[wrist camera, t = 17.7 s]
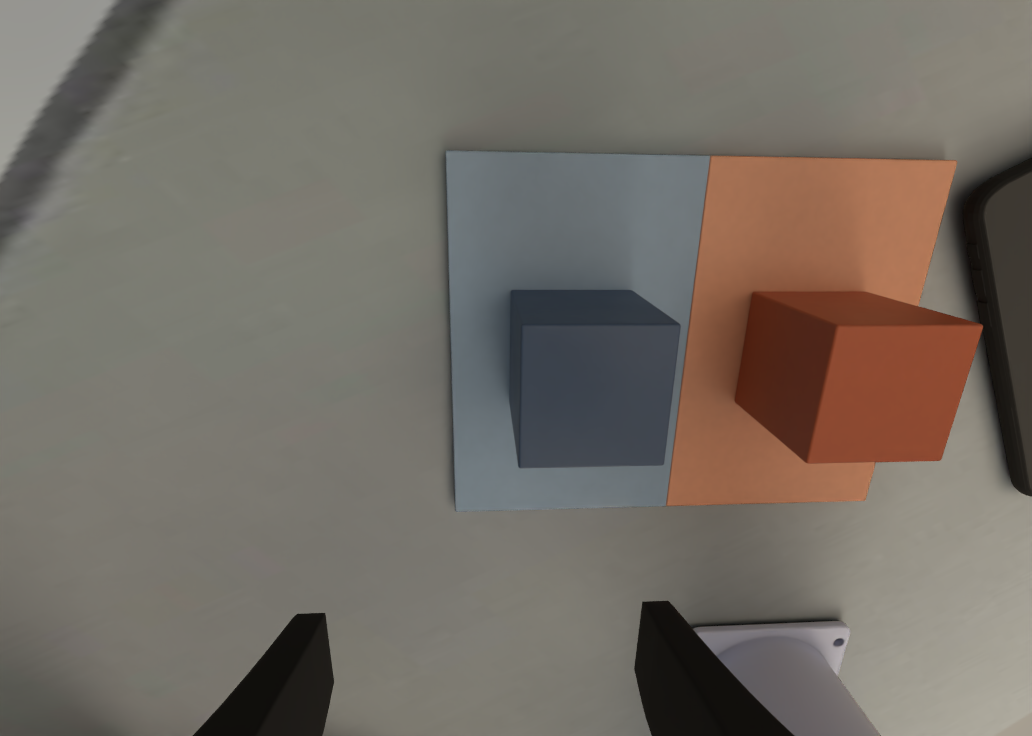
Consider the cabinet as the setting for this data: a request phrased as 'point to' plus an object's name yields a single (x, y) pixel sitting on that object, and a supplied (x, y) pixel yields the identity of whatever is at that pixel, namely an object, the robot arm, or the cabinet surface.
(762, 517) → the cabinet surface
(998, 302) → the smartphone
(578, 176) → the sorting board
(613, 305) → the slate block
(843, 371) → the terracotta block
